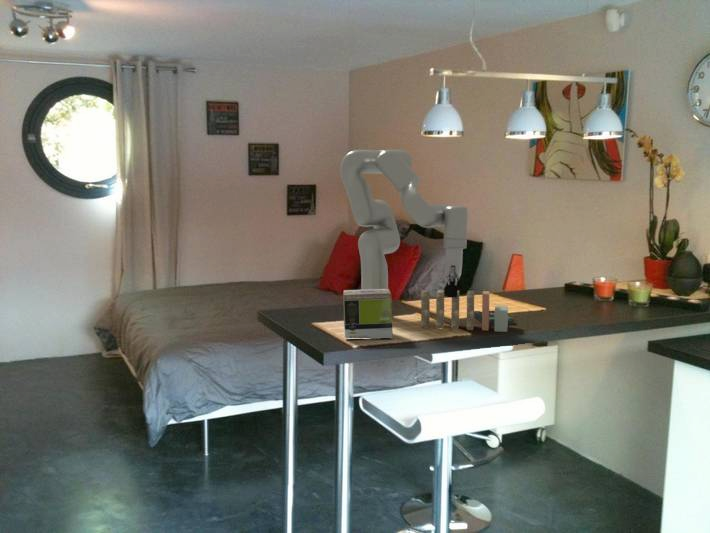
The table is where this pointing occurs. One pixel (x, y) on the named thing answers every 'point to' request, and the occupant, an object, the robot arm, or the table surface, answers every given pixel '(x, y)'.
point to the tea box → (368, 313)
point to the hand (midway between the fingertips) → (453, 294)
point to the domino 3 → (455, 312)
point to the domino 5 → (485, 310)
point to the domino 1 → (425, 308)
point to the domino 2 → (440, 309)
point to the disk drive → (491, 317)
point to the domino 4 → (470, 310)
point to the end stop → (501, 318)
